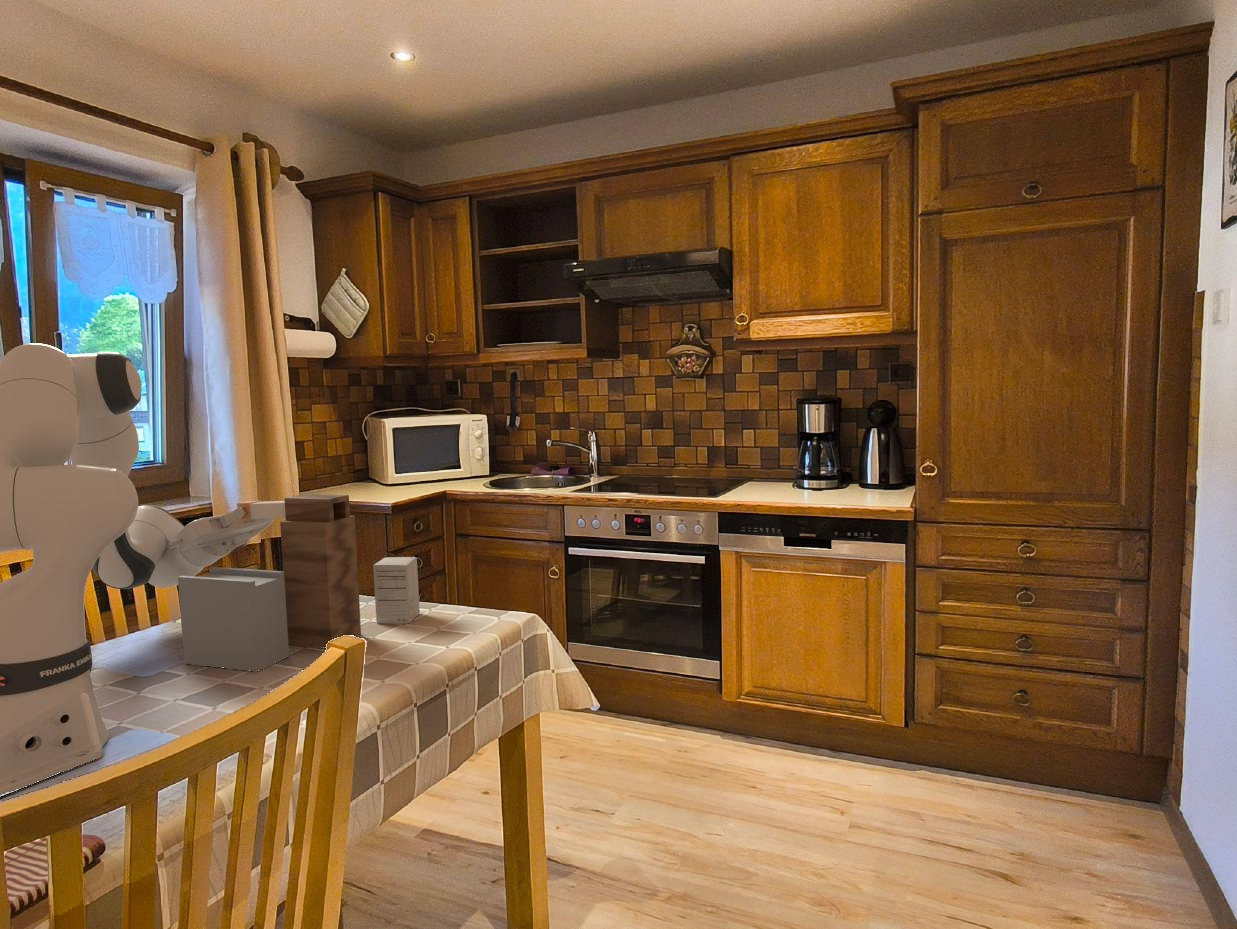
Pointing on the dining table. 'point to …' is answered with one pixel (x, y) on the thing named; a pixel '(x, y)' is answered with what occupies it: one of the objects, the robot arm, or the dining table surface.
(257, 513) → the beige rectangular bar
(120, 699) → the dining table surface
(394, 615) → the supplement box
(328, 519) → the holster tower
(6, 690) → the robot arm
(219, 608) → the block
